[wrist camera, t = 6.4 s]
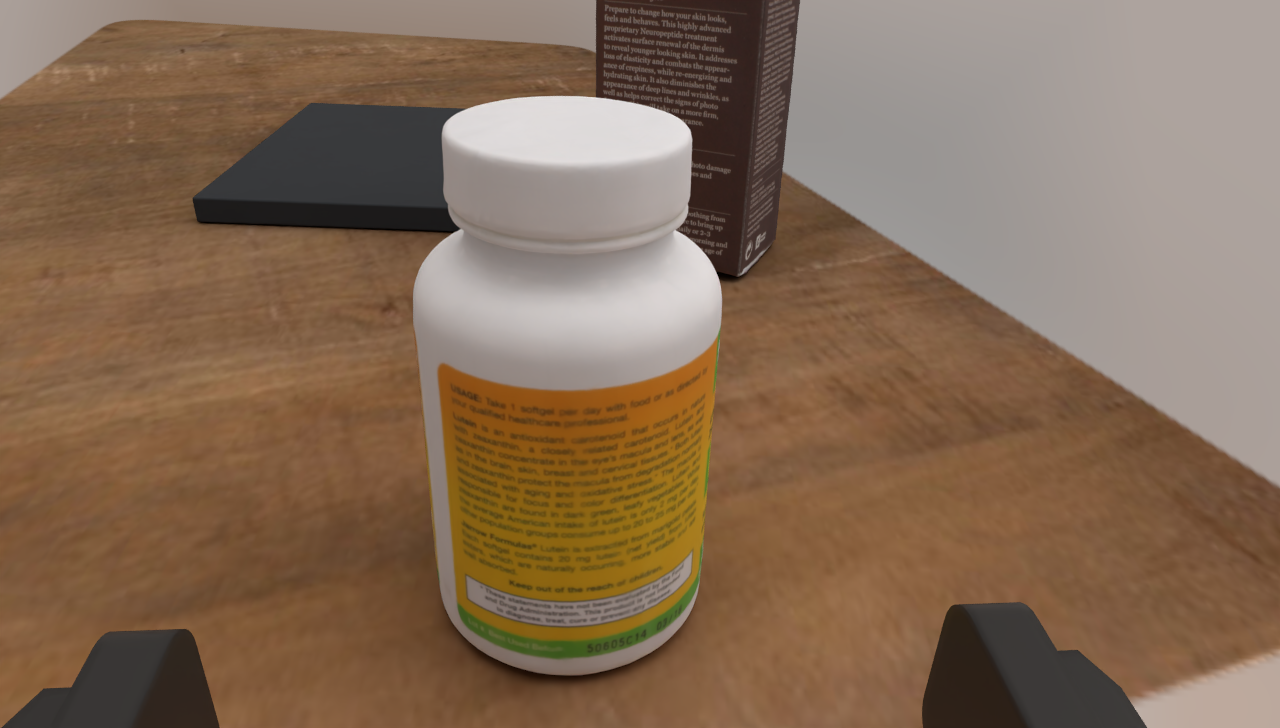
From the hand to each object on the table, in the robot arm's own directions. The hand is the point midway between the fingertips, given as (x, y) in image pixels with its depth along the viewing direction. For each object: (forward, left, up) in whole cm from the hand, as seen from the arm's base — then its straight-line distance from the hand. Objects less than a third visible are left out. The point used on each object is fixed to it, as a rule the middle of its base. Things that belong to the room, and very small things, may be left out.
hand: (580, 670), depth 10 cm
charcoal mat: (-10, +34, -6) cm, 36 cm away
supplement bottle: (-1, +8, -6) cm, 10 cm away
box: (+2, +26, -6) cm, 27 cm away
